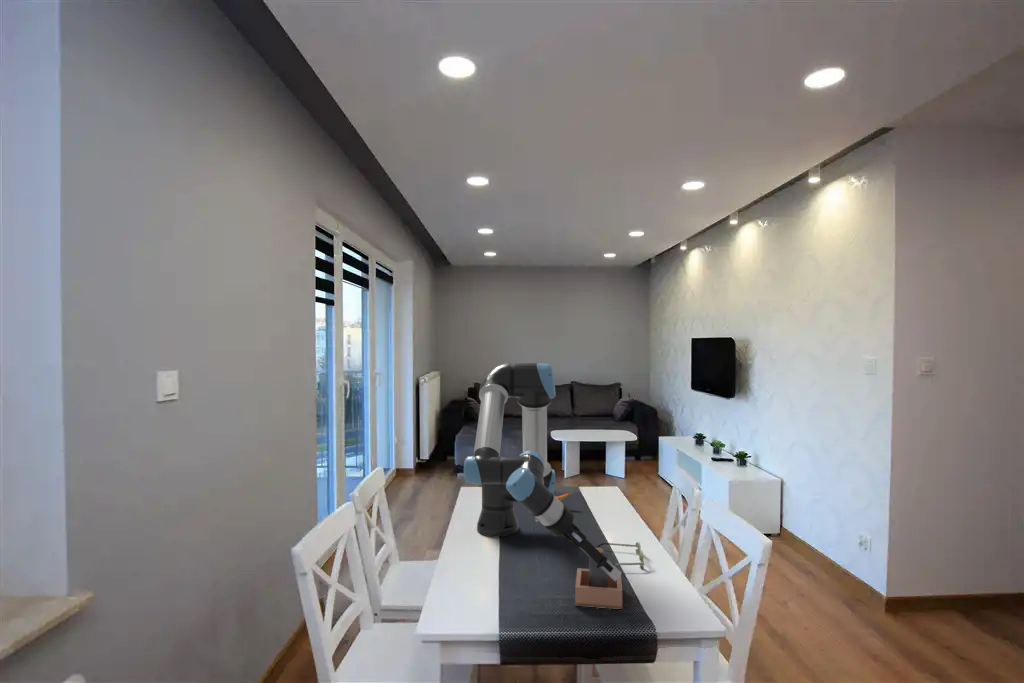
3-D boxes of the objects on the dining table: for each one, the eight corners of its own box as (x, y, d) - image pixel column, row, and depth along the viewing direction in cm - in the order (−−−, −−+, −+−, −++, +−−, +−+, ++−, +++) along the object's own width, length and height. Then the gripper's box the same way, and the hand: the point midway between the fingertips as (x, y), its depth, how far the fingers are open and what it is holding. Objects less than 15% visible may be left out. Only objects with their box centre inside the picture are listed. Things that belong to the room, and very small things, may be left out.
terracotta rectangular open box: (575, 606, 141) (575, 587, 141) (577, 585, 152) (577, 568, 152) (622, 610, 139) (622, 590, 139) (620, 589, 150) (620, 571, 150)
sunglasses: (645, 574, 161) (645, 557, 161) (593, 572, 163) (593, 555, 163) (638, 552, 178) (638, 537, 178) (591, 550, 179) (591, 535, 179)
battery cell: (588, 597, 144) (588, 552, 143) (589, 588, 148) (589, 545, 148) (607, 598, 143) (607, 553, 143) (607, 590, 148) (607, 546, 148)
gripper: (530, 512, 153) (579, 559, 157) (561, 543, 129) (618, 598, 133) (548, 492, 155) (596, 539, 159) (582, 519, 131) (638, 574, 135)
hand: (606, 566), depth 146 cm, fingers open, 13 cm apart
